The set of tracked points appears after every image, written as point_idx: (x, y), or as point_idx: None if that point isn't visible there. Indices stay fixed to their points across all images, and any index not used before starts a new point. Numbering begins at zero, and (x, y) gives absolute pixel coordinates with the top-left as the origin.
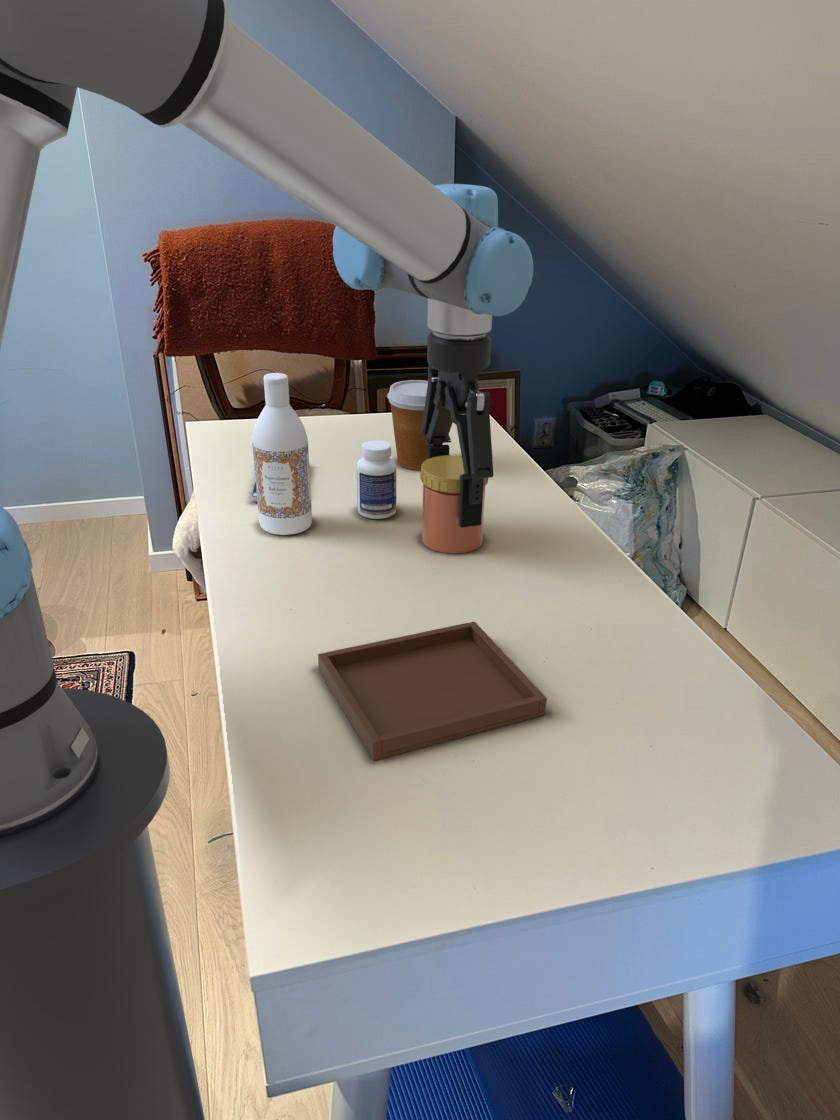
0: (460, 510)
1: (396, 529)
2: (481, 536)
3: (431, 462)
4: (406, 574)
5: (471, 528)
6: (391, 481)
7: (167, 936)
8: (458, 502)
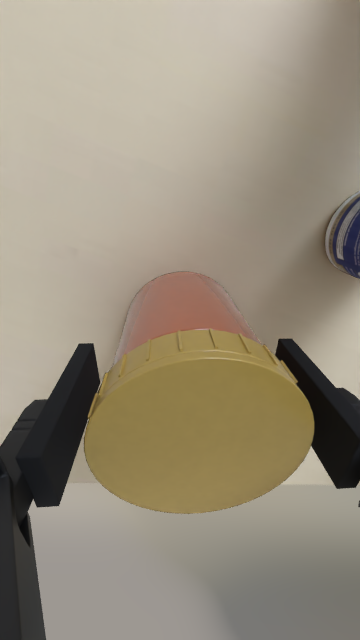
0: (76, 367)
1: (268, 242)
2: None
3: (271, 404)
4: (55, 183)
5: None
6: None
7: None
8: None
